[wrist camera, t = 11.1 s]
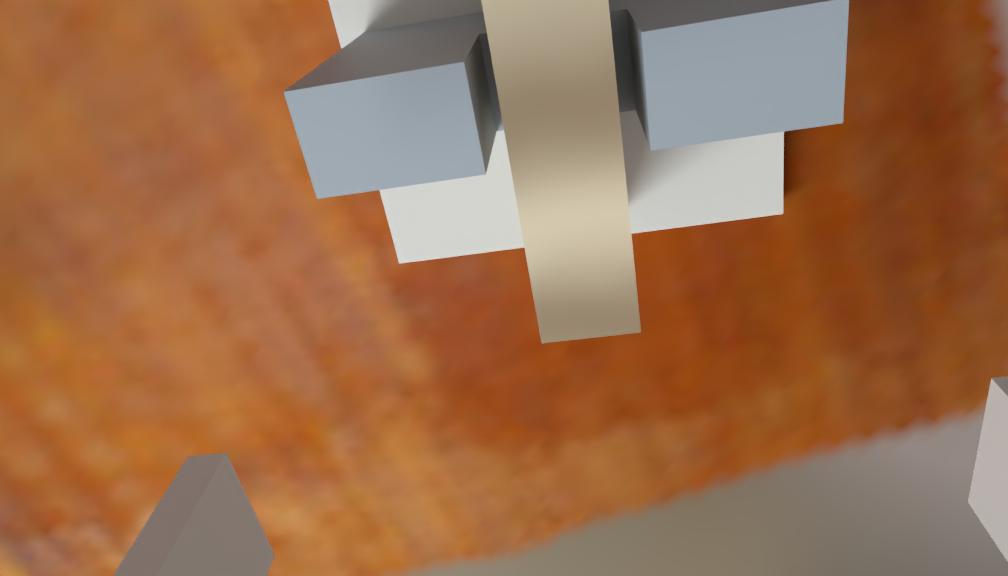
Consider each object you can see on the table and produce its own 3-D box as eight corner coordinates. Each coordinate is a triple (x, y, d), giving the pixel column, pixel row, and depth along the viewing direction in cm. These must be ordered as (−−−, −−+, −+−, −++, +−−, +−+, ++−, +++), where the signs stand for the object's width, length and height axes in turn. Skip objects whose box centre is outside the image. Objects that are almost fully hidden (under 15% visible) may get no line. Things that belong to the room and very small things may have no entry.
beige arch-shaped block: (482, -171, 23) (446, -202, 15) (575, -190, 23) (586, -232, 15) (545, 223, 30) (541, 343, 22) (618, 214, 29) (640, 332, 22)
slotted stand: (292, -165, 25) (147, -196, 16) (779, -272, 22) (922, -375, 14) (403, 253, 32) (346, 389, 23) (776, 204, 30) (867, 334, 21)
